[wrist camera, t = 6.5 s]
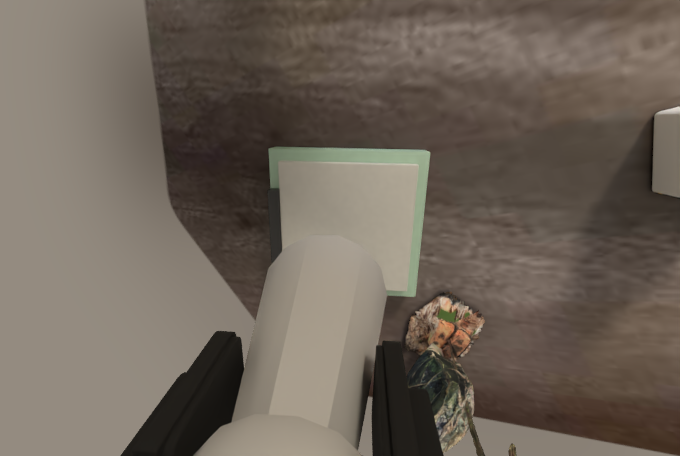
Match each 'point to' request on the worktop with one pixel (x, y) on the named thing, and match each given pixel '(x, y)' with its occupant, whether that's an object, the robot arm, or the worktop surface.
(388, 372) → the robot arm
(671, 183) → the medicine bottle
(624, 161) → the worktop surface
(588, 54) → the worktop surface
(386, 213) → the scale
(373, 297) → the salt shaker
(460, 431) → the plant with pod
